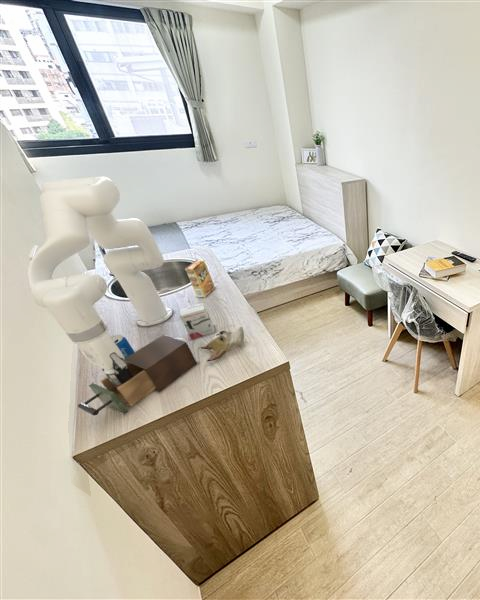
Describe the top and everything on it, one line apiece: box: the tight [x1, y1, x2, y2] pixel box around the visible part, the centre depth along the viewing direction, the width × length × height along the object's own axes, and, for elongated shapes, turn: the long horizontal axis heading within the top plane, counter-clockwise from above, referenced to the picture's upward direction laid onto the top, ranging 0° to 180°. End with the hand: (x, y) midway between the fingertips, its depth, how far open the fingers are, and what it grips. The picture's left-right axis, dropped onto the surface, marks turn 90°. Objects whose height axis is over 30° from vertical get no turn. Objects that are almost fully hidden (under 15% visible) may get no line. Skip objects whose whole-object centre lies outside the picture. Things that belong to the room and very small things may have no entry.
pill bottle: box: [103, 362, 130, 387], centre depth 93 cm, size 5×5×8 cm
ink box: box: [178, 302, 216, 341], centre depth 123 cm, size 8×5×12 cm, turn 123°
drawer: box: [77, 363, 156, 416], centre depth 95 cm, size 17×10×8 cm, turn 158°
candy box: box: [184, 259, 216, 298], centre depth 147 cm, size 9×4×15 cm, turn 178°
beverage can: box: [110, 334, 136, 362], centre depth 107 cm, size 6×6×12 cm
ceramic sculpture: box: [200, 326, 245, 363], centre depth 115 cm, size 11×9×15 cm
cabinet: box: [124, 334, 198, 393], centre depth 105 cm, size 14×11×10 cm
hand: (120, 377), depth 95 cm, fingers closed on pill bottle, 4 cm apart
